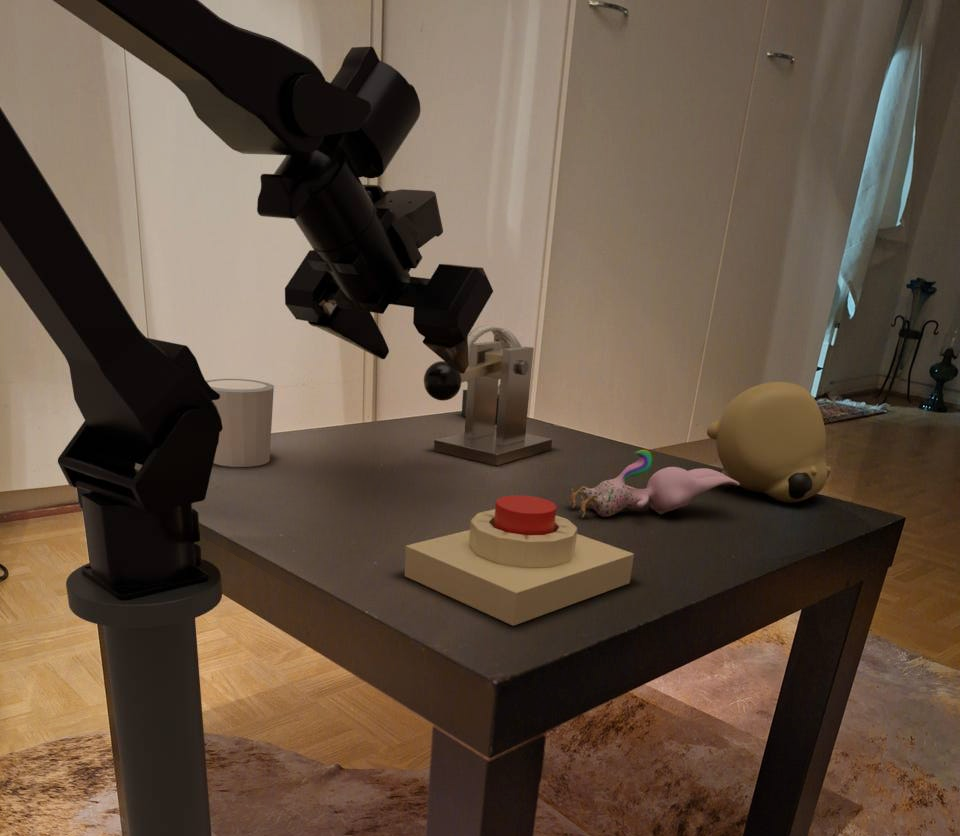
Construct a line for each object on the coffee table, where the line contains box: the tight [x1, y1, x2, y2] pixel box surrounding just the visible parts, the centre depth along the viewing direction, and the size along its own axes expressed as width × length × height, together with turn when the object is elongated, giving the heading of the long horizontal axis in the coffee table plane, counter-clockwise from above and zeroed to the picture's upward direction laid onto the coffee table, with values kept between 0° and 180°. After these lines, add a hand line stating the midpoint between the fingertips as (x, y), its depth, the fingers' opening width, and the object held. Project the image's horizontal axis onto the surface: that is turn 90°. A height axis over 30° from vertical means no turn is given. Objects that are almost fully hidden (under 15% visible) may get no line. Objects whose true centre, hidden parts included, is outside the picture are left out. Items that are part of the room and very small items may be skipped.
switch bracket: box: [433, 341, 553, 467], centre depth 91 cm, size 11×8×11 cm
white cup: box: [206, 378, 275, 468], centre depth 81 cm, size 7×7×7 cm
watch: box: [461, 324, 523, 425], centre depth 107 cm, size 6×8×11 cm
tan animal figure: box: [706, 381, 832, 504], centre depth 84 cm, size 10×12×11 cm
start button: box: [494, 494, 557, 535], centre depth 57 cm, size 4×4×2 cm
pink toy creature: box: [569, 449, 740, 519], centre depth 75 cm, size 6×6×15 cm
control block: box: [404, 508, 635, 627], centre depth 58 cm, size 12×10×4 cm
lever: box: [423, 349, 503, 402], centre depth 86 cm, size 13×4×4 cm, turn 145°
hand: (424, 362), depth 79 cm, fingers open, 9 cm apart
